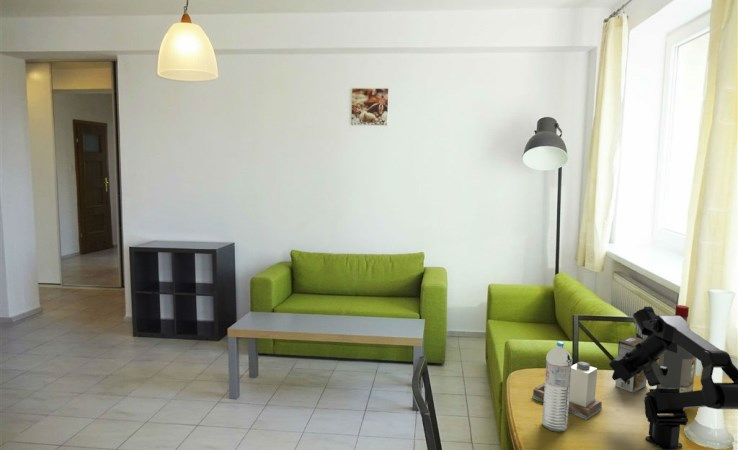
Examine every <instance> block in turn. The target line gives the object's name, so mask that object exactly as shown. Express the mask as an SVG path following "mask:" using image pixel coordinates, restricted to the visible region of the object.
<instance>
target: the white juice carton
mask: <svg viewBox="0 0 738 450" xmlns="http://www.w3.org/2000/svg"><path fill="white" fill-rule="evenodd" d="M597 376H598V368H597V367H594V366H591V364H590V363H589V362H585V361H578V362H576V363H575V364H572V365H571V377H570V397H569V401H570V402H573V403H575V404H578V405H581V406H583V407H586V408H587V407H588V406H589V405H591V404H593V403H594V402H595V399H596V391H597V390H596V389H597V378H598V377H597Z"/></svg>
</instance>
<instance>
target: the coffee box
mask: <svg viewBox="0 0 738 450" xmlns="http://www.w3.org/2000/svg"><path fill="white" fill-rule="evenodd" d="M643 340H644V339H643V338H640V337H637V336H632V335H630V336H629V337H626V338H623V339H621V340H618V346H617V347H618V348H617V349H618V350H617V358H618V357H623V356H625V354H626V353H627V352H629V351H631V350H632V349H633V348H634V347H635V345H637V344H638V343H640V342H642V341H643ZM635 374H636V373H635ZM614 382H615V384H614V386H615V387H616V388H619V389H622V390H625V391H628V392H629V393H635V392H637V391H638V390H641V389H642V388H645V387H647V379H646V377H645V375H644V373H643V371H642V372H641V373H639V374H636V376H634V377H633V378H631V379H630V380H628V381H627V382H625V381H623V380H622V379H621V378H619V379H617V380H615V381H614Z"/></svg>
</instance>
